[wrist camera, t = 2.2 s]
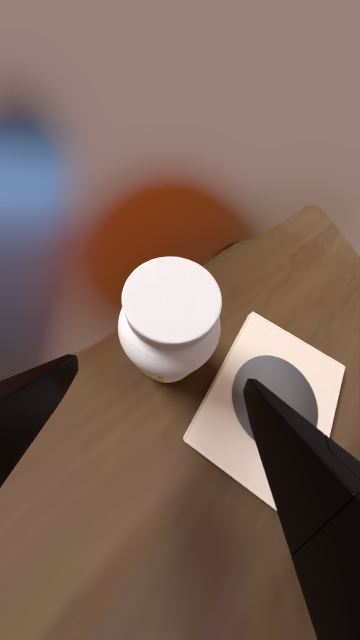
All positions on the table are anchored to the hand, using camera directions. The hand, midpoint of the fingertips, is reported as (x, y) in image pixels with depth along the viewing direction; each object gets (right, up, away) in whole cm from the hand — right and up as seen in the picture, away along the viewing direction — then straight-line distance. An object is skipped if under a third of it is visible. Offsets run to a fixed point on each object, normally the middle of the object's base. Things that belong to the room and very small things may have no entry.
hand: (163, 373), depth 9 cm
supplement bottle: (-1, -1, +11) cm, 11 cm away
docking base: (+10, -6, +10) cm, 15 cm away
